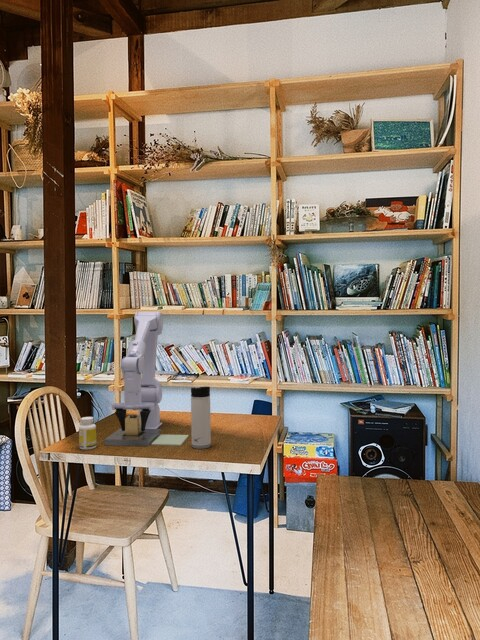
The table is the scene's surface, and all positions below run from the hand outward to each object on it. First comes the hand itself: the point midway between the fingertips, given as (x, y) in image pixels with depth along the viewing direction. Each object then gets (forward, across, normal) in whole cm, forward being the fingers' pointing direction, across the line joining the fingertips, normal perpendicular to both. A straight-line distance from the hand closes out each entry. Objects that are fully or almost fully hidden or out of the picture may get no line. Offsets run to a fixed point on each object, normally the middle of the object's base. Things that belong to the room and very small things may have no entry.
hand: (133, 430), depth 177 cm
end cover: (+3, 0, 0) cm, 3 cm away
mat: (+3, +13, 0) cm, 13 cm away
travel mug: (+3, +25, -6) cm, 26 cm away
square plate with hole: (+3, 0, 0) cm, 3 cm away
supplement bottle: (+3, -12, -10) cm, 16 cm away
